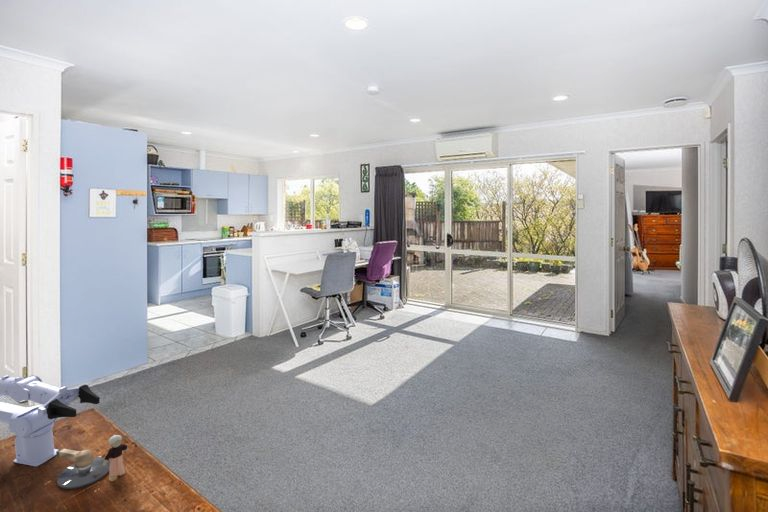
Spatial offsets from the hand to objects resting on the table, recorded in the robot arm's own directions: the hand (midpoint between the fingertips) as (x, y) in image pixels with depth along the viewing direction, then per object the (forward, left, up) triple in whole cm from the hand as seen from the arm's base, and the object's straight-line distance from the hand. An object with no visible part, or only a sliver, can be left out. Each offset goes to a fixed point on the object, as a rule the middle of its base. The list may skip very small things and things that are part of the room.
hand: (87, 406), depth 123 cm
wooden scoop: (-2, -3, -16) cm, 16 cm away
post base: (+1, -3, -19) cm, 20 cm away
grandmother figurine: (+11, -1, -20) cm, 23 cm away
